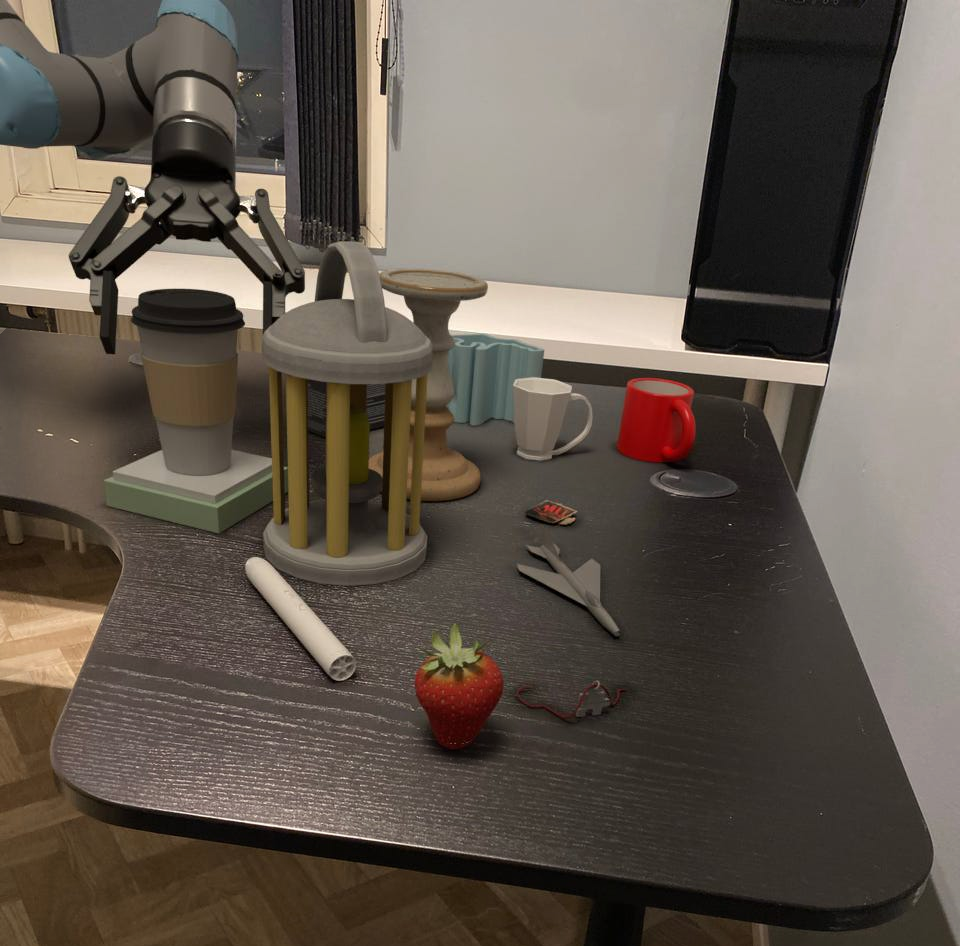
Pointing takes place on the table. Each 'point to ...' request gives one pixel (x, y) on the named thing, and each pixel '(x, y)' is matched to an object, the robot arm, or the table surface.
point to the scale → (194, 491)
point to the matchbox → (551, 512)
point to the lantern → (347, 430)
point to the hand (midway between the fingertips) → (188, 350)
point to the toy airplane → (571, 580)
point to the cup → (543, 416)
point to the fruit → (457, 689)
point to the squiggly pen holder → (489, 375)
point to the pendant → (584, 700)
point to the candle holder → (435, 377)
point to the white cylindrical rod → (301, 620)
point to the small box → (319, 406)
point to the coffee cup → (191, 374)
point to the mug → (657, 421)
